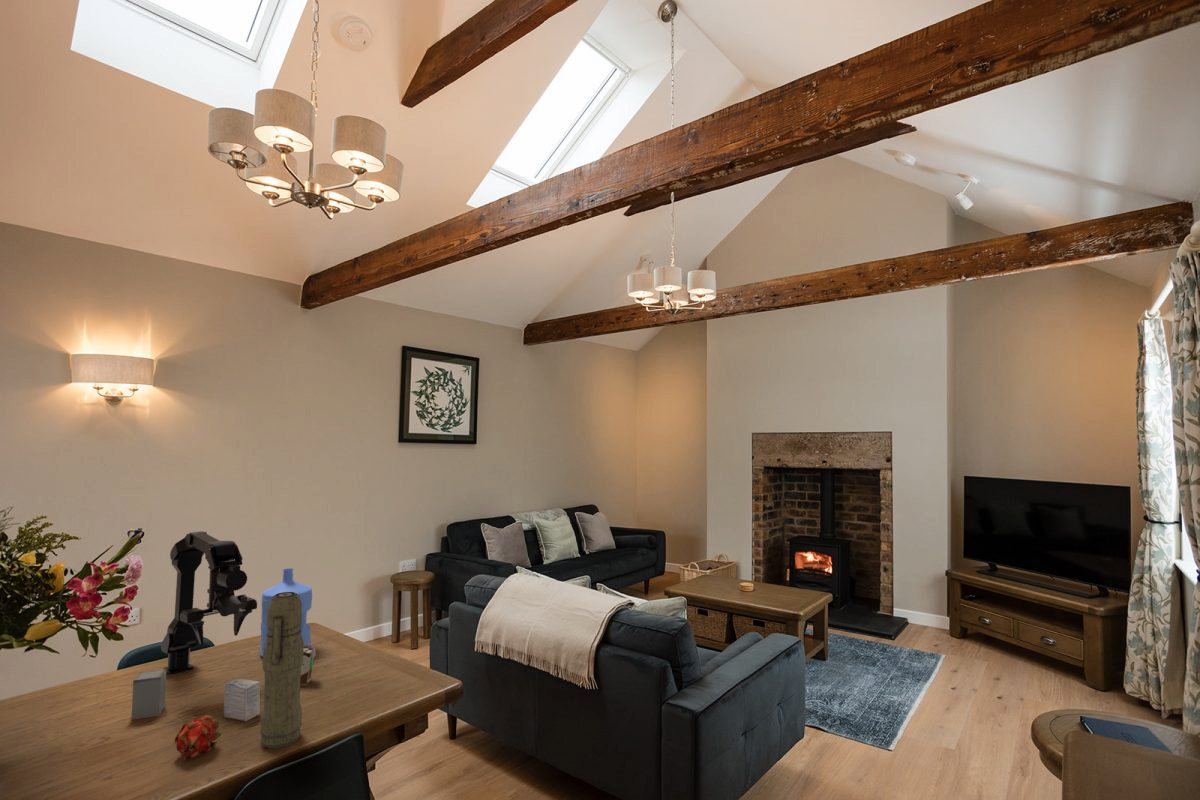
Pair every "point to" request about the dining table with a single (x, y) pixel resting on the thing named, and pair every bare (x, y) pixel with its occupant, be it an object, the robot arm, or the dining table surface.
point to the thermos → (282, 671)
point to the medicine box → (242, 699)
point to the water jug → (287, 586)
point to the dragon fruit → (197, 736)
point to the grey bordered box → (148, 694)
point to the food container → (307, 663)
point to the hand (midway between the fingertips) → (218, 639)
